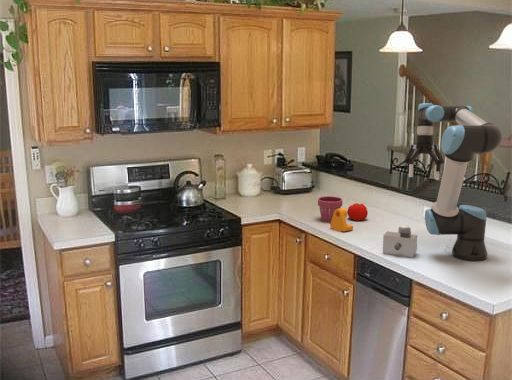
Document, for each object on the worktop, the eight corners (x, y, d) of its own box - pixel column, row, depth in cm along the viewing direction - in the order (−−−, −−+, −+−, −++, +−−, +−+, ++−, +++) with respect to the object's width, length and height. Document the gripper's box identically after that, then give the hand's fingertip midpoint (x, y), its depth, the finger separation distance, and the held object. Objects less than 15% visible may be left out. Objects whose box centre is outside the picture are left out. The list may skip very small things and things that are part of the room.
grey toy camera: (420, 247, 258) (421, 225, 255) (412, 259, 241) (413, 235, 238) (391, 243, 264) (392, 222, 262) (381, 254, 247) (382, 232, 245)
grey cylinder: (411, 248, 256) (413, 226, 254) (405, 250, 253) (406, 228, 250) (401, 245, 260) (402, 224, 258) (395, 248, 257) (396, 226, 254)
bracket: (353, 230, 287) (354, 209, 284) (344, 232, 282) (345, 211, 280) (339, 226, 295) (340, 205, 293) (330, 228, 291) (330, 207, 288)
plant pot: (339, 224, 299) (340, 202, 296) (315, 222, 303) (315, 200, 301) (343, 218, 312) (344, 197, 309) (320, 216, 316) (320, 195, 314)
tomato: (350, 216, 316) (350, 201, 314) (370, 218, 311) (370, 203, 309) (344, 220, 307) (344, 205, 305) (364, 223, 302) (365, 207, 300)
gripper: (452, 134, 258) (450, 178, 259) (406, 135, 275) (404, 176, 277) (445, 134, 252) (443, 178, 254) (398, 135, 270) (397, 176, 271)
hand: (423, 177), depth 265 cm, fingers open, 13 cm apart
